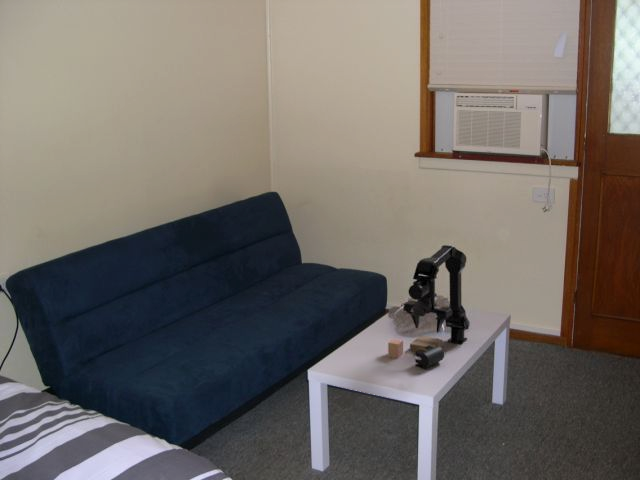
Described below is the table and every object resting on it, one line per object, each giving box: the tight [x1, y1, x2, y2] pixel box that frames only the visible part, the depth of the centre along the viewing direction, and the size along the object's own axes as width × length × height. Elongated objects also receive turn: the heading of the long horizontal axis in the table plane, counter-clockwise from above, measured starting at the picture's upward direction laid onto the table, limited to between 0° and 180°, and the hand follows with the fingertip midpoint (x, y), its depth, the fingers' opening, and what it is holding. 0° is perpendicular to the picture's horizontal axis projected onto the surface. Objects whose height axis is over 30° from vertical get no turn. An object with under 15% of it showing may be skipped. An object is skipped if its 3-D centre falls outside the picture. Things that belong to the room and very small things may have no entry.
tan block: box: [409, 335, 443, 352], centre depth 316 cm, size 10×10×3 cm
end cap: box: [414, 346, 445, 370], centre depth 300 cm, size 10×7×7 cm
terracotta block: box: [387, 338, 404, 359], centre depth 310 cm, size 4×4×6 cm
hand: (427, 330), depth 297 cm, fingers open, 9 cm apart
